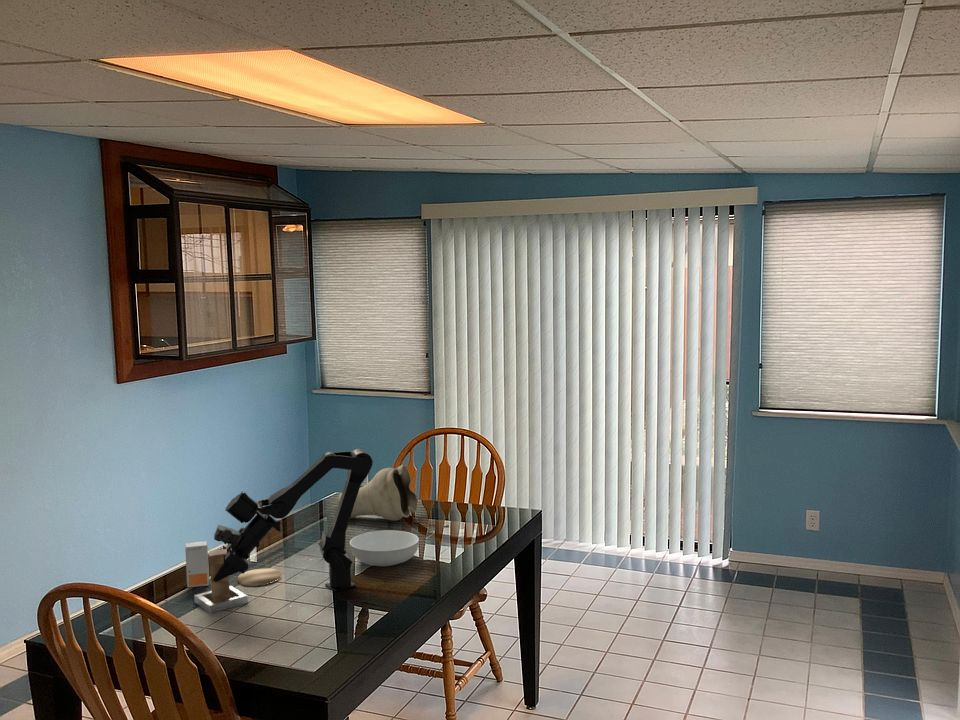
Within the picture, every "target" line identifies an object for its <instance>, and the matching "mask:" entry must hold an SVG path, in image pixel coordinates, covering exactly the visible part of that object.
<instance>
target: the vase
mask: <svg viewBox="0 0 960 720" xmlns="http://www.w3.org/2000/svg"><path fill="white" fill-rule="evenodd" d="M411 483H412V477H411V475H410V471H409V470H408V468H407V467H406V466H405V465H404V464H401V465H399V466H398V467H396V468H393V467H385V468H382V469H381V470H379V471H377V472H376V474H374V476H373V478H372V479H371V480H370V481H369V482H367V483H366V484H365V485H363V486H360V489H359V492H358V495H357V498H356V501H355V504H354V508H353V511H352V514H351V517H350V519H353V518H355V517H361V516H377V517H381V518H383V519H385V520H387V521H395V522H396V521H399V520H401V519H403V518H408V517H410V515H411V513H416V512H417V510H418V498H417V497H418V496H417V494H416V492H415V491H414V490H413V489H412V488H411ZM341 495H342V493H340V494H338V496H337V504H338V505H339V502H340V499H341ZM338 505H337V506H338Z"/></svg>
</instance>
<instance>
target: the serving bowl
mask: <svg viewBox="0 0 960 720" xmlns="http://www.w3.org/2000/svg"><path fill="white" fill-rule="evenodd" d="M419 544H420V538H419V536H417V534H415V533H412V532H407V531H404V530H403V531H402V530H394V529H393V530H392V529H391V530H390V529H389V530H388V529H387V530H385V529H384V530H383V529H382V530H374V531H368V532H364V533H361V534H358V535H356V536H354V537H352V538H350V541H349V548H350V551H351V553H352V555H353V557H354V558H355V559H356V560H357V561H359V562H361V563H362V564H366V565H368V566H369V565H370V566H374V567H375V566H376V567H390V566H394V565H399V564H402V563H405V562H407V561H409V560H410V559H411V558H413V557H414V556H415V554H416V553H417V551H418V548H419Z"/></svg>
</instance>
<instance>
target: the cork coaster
mask: <svg viewBox="0 0 960 720" xmlns="http://www.w3.org/2000/svg"><path fill="white" fill-rule="evenodd" d="M280 576H281V571H280V570H278V569H276V568H268V567H267V568H255V569H251V570H246V572H245V573H244V574H242V573H240V574H239V575H238V577H237V580H238V583H239V584H240V585H242V586H244V587H245V586H246V587H259V586H258V585H262V586H265V585H264V584H267V583H270V582H272V581H275V580H277V579H279V578H280ZM280 579H281V578H280ZM280 579H279V580H280ZM267 585H268V584H267Z"/></svg>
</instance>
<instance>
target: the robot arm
mask: <svg viewBox="0 0 960 720" xmlns="http://www.w3.org/2000/svg"><path fill="white" fill-rule="evenodd" d="M373 463H374V462H373V459H372V457H371V455H370V454H369V453H368V452H367V451H366V450H365V449H362V448H356V449H353V450H351V451H350V450H349V451H348V450H346V451H327V452H325V453H323V455H322V456H321V457H320V458H319V459H318V460H317V461H315V463H313V464H312V465H311V466H310V467H309V468H308V469H306V471H305V472H303V473H302V474H301V475H300V476H299V477H298V478H296V480H294V481H293V482H292V483H290V484H288V485H287V486H285V487H283V488H281V489H279V490H278V491H276V492H274V493H273V494H271V495H270V496H269V497H268V498H264V499H260V500H257V501H255V499H252V498H251V497H250V496H249V495H248V494H247V492H245V491H244V490H242V491H241V492H240V493H239V494H238V495H236V496H235V497H233V498H232V499H231V500H230V502H229V503H227V505H226V507H225V512H227V513H228V514H229V515H230V516H232V517H233V518H234V519H236V521H238V522H239V523H241V524H244V523H245V524H246V523H248V524H247V525H246V526H245V527H240V529H239V530H236V529H234V528H231V527H228V526H225V525H222V524H218V525H217V527H216V530H215V532H214V535H213V540H215V541H216V542H222V543H223V544H224V545H222V549H227V554H226V556H225V555H223V557H224V563H223V565H222V566H221V568H220V569H219V571H218V572H217V574H216V575H215V577H214V578H213V580H214V581H215V582H217V581H219V580H222V579H224V578H226V577H228V578H229V577H230V576H232V575H234V574H237V573H240V574H244V573H245V572H247V571H248V570H249V563H248V561H249V560H248V559H250V557H251V556H250V554H251V553H252V552H253V551H254V550H255V549H256V548H260V546H261V542H262V541H263V540H264V539H265V538H266V536H267V535H268V534H269V533H270V532H271V531H272V529H275V530H276V531H277V532H278V533H280V532H281V524H282V523H281V522H282V521H281V519H285V518H286V517H287V516H288V515H289V514H290V513H291V511H292V510H293V509H294V507H295V506H296V504H298V501H299V500H300V498H301V497H302V496H303V495H305V493H307V491H309V490H310V489H311V488H312V487H313V486H314V485H316V484H317V483H318V482H319V481H320V480H321V479H322V478H323V477H324V476H325V475H327V474H328V473H329V472H330V471H331V470H332V469H341V470H346V479H345V480H346V481H345V484H344V487H343V490H342V495H341V499H340V502H339V505H337V509H336V512H335V515H334V518H333V521H332V524H331V527H330V528H329V530H327V531H325V530H322V533H321V539H320V541H319V542H318V546H319V551H320V554H321V556H322V558H323V560H324V561H325V562H326V563H327V564H328V569H329V570H328V572H329V582H328V583H327V582H326V583H325V584H324V585H325V587H327V588H328V589H330V590H332V591H335V592H341V591H343V590H346V589H351V588H354V587H356V586H357V585H356V583H354V582H353V581H352V576H351V574H352V573H351V567H352V564H353V560H352V559H351V557H350V556H349V554H348V551H346V550H345V547H346V533H347V528H348V526H349V522H350V520H351V518H350V517H351V514H352V511H353V508H354V504H355V501H356V498H357V495H358V492H359V489H360V488H361V487H362V484H363V483H364V481H365V480H366V478H367V477H368V474H369V473H370V471H371V470H372V467H373ZM225 545H226V546H225ZM355 585H356V586H355ZM353 586H354V587H353Z"/></svg>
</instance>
